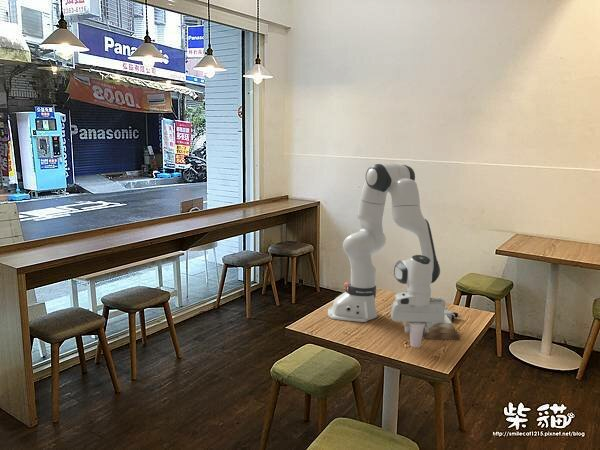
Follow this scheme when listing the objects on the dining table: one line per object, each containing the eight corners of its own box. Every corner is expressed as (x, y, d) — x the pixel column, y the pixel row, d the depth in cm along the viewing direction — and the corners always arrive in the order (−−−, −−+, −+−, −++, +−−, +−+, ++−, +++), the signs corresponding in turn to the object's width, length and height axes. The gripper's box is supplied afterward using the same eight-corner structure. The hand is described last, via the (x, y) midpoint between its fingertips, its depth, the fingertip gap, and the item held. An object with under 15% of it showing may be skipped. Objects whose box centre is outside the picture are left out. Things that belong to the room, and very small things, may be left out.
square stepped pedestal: (424, 338, 200) (425, 324, 199) (417, 325, 214) (418, 312, 213) (459, 339, 200) (460, 325, 199) (449, 326, 214) (450, 313, 213)
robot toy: (462, 322, 222) (437, 309, 234) (464, 312, 221) (439, 300, 233) (443, 327, 215) (418, 313, 228) (444, 317, 214) (420, 304, 227)
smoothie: (426, 345, 194) (429, 311, 191) (418, 350, 189) (421, 315, 187) (412, 340, 198) (414, 307, 195) (403, 345, 193) (406, 311, 191)
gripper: (443, 295, 193) (441, 329, 195) (391, 294, 193) (389, 327, 196) (448, 301, 187) (445, 335, 189) (393, 299, 187) (391, 334, 190)
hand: (416, 331), depth 193 cm, fingers closed on smoothie, 6 cm apart
